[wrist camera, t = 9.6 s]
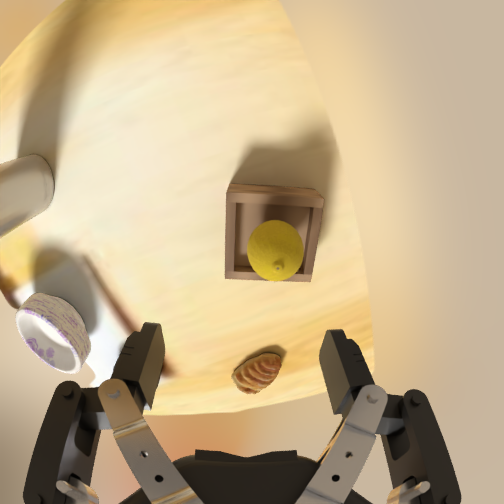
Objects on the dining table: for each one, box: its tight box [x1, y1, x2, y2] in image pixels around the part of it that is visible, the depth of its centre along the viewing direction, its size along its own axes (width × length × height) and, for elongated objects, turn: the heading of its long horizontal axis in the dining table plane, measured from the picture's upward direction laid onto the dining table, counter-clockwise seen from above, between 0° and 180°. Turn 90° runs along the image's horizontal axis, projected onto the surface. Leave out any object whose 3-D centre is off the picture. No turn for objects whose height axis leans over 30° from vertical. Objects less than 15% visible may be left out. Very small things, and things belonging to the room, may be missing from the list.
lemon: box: [247, 220, 304, 281], centre depth 27 cm, size 6×6×8 cm
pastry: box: [231, 353, 281, 394], centre depth 43 cm, size 9×7×4 cm
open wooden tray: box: [225, 184, 324, 282], centre depth 31 cm, size 10×10×4 cm
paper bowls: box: [16, 293, 91, 374], centre depth 37 cm, size 15×15×8 cm
